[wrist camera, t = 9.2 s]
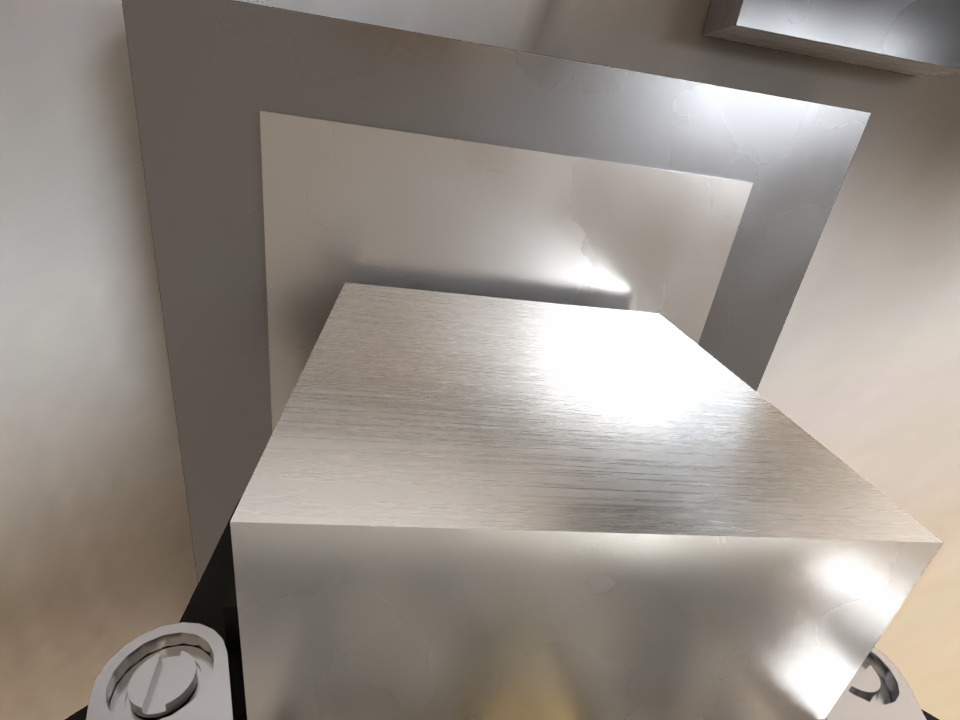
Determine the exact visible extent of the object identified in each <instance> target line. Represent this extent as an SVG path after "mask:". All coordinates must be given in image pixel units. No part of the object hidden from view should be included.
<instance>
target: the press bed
mask: <svg viewBox="0 0 960 720" xmlns="http://www.w3.org/2000/svg"><path fill="white" fill-rule="evenodd" d="M122 5H123V13H124V20H125V28H126V36H127V43H128V51H129V59H130V66H131V74H132V82H133V89H134V97H135V105H136V112H137V120H138V128H139V135H140V143H141V151H142V158H143V166H144V174H145V181H146V189H147V197H148V204H149V212H150V220H151V227H152V235H153V243H154V250H155V258H156V266H157V273H158V281H159V289H160V296H161V304H162V312H163V319H164V327H165V334H166V342H167V350H168V357H169V365H170V373H171V380H172V388H173V396H174V403H175V411H176V419H177V426H178V434H179V442H180V449H181V457H182V465H183V472H184V480H185V488H186V495H187V503H188V511H189V518H190V526H191V534H192V541H193V549H194V557H195V564H196V572H197V580H198V583H199V581H200V579H201V577H202V575H203V573H204V571H205V569H206V567H207V565H208V563H209V561H210V559H211V556H212V554H213V552H214V550H215V548H216V546H217V544H218V542H219V540H220V538H221V536H222V534H223V532H224V530H225V528H226V525H227V523H228V521H229V519H230V517H231V515H232V513H233V511H234V509H235V507H236V505H237V503H238V501H239V500H240V498H241V497H242V496H243V494H244V492H245V490H246V488H247V485H248V483H249V481H250V479H251V477H252V475H253V473H254V471H255V469H256V467H257V465H258V463H259V461H260V458H261V456H262V454H263V452H264V450H265V448H266V446H267V444H268V442H269V440H270V438H271V436H272V434H273V431H274V429H275V427H276V425H277V423H278V421H279V419H280V417H281V415H282V413H283V411H284V409H285V406H286V404H287V402H288V400H289V398H290V396H291V394H292V392H293V390H294V388H295V386H296V384H297V382H298V379H299V377H300V375H301V373H302V371H303V369H304V367H305V365H306V363H307V361H308V359H309V357H310V355H311V352H312V350H313V348H314V346H315V344H316V342H317V340H318V338H319V336H320V334H321V332H322V330H323V327H324V325H325V323H326V321H327V319H328V317H329V315H330V313H331V311H332V309H333V307H334V305H335V303H336V300H337V298H338V296H339V294H340V292H341V290H342V288H343V286H344V284H345V282H346V283H356V284H366V285H376V286H386V287H396V288H406V289H416V290H426V291H436V292H446V293H456V294H466V295H476V296H486V297H496V298H506V299H516V300H527V301H537V302H547V303H557V304H567V305H577V306H587V307H597V308H607V309H617V310H627V311H637V312H647V313H657V314H660V315H661V316H663V317H664V318H665V319H666V320H668V321H669V322H670V323H671V324H673V325H674V326H675V327H676V328H678V329H679V330H680V331H681V332H683V333H684V334H685V335H686V336H688V337H689V338H690V339H691V340H692V341H694V342H695V343H696V344H697V345H699V346H700V347H701V348H702V349H704V350H705V351H706V352H707V353H709V354H710V355H711V356H712V357H714V358H715V359H716V360H717V361H719V362H720V363H721V364H722V365H724V366H725V367H726V368H727V369H729V370H730V371H731V372H732V373H733V374H735V375H736V376H737V377H738V378H740V379H741V380H742V381H743V382H745V383H746V384H747V385H748V386H750V387H751V388H752V389H753V390H755V391H757V388H758V386H759V384H760V381H761V379H762V376H763V374H764V371H765V369H766V367H767V364H768V362H769V359H770V357H771V354H772V352H773V350H774V347H775V345H776V342H777V340H778V337H779V335H780V333H781V330H782V328H783V325H784V323H785V320H786V318H787V316H788V313H789V311H790V308H791V306H792V304H793V301H794V299H795V296H796V294H797V291H798V289H799V287H800V284H801V282H802V279H803V277H804V274H805V272H806V270H807V267H808V265H809V262H810V260H811V257H812V255H813V253H814V250H815V248H816V245H817V243H818V240H819V238H820V236H821V233H822V231H823V228H824V226H825V223H826V221H827V219H828V216H829V214H830V211H831V209H832V207H833V204H834V202H835V199H836V197H837V194H838V192H839V190H840V187H841V185H842V182H843V180H844V177H845V175H846V173H847V170H848V168H849V165H850V163H851V160H852V158H853V156H854V153H855V151H856V148H857V146H858V143H859V141H860V139H861V136H862V134H863V131H864V129H865V126H866V124H867V122H868V119H869V117H870V114H871V113H869V112H863V111H857V110H852V109H846V108H840V107H835V106H829V105H823V104H818V103H812V102H806V101H801V100H795V99H789V98H784V97H778V96H772V95H767V94H761V93H755V92H750V91H744V90H738V89H733V88H727V87H721V86H716V85H710V84H704V83H699V82H693V81H687V80H682V79H676V78H670V77H665V76H659V75H653V74H648V73H642V72H636V71H631V70H625V69H619V68H614V67H608V66H602V65H597V64H591V63H585V62H580V61H574V60H568V59H563V58H557V57H551V56H546V55H540V54H534V53H529V52H523V51H517V50H512V49H506V48H500V47H495V46H489V45H483V44H478V43H472V42H466V41H461V40H455V39H449V38H444V37H438V36H432V35H427V34H421V33H415V32H410V31H404V30H398V29H393V28H387V27H381V26H376V25H370V24H364V23H359V22H353V21H347V20H342V19H336V18H330V17H325V16H319V15H314V14H308V13H302V12H297V11H291V10H285V9H280V8H274V7H268V6H263V5H257V4H251V3H246V2H240V1H234V0H122ZM703 35H704V36H709V37H714V38H720V39H725V40H730V41H735V42H740V43H746V44H751V45H756V46H761V47H766V48H772V49H777V50H782V51H787V52H792V53H798V54H803V55H808V56H813V57H818V58H824V59H829V60H834V61H839V62H844V63H850V64H855V65H860V66H865V67H870V68H876V69H881V70H886V71H891V72H896V73H902V74H907V75H912V76H917V77H918V76H930V75H941V74H953V73H960V0H712V2H711V6H710V9H709V13H708V17H707V20H706V24H705V28H704V31H703Z"/></svg>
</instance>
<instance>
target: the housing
mask: <svg viewBox="0 0 960 720" xmlns="http://www.w3.org/2000/svg"><path fill="white" fill-rule="evenodd" d="M230 527H231V539H232V550H233V562H234V573H235V585H236V596H237V608H238V619H239V631H240V642H241V654H242V665H243V677H244V688H245V700H246V711H247V720H825V718H826V717H827V715H828V714H829V712H830V711H831V709H832V708H833V706H834V705H835V703H836V702H837V700H838V699H839V697H840V696H841V694H842V693H843V691H844V690H845V688H846V687H847V685H848V684H849V682H850V681H851V679H852V678H853V676H854V675H855V674H856V672H857V671H858V669H859V668H860V666H861V665H862V663H863V662H864V660H865V659H866V657H867V656H868V654H869V653H870V651H871V650H872V648H873V647H874V645H875V644H876V642H877V641H878V639H879V638H880V636H881V635H882V633H883V632H884V630H885V629H886V627H887V626H888V625H889V623H890V622H891V620H892V619H893V617H894V616H895V614H896V613H897V611H898V610H899V608H900V607H901V605H902V604H903V602H904V601H905V599H906V598H907V596H908V595H909V593H910V592H911V590H912V589H913V587H914V586H915V584H916V583H917V581H918V580H919V578H920V577H921V576H922V574H923V573H924V571H925V570H926V568H927V567H928V565H929V564H930V562H931V561H932V559H933V558H934V556H935V555H936V553H937V552H938V550H939V549H940V547H941V546H942V544H943V542H942V541H941V540H940V539H938V538H937V537H936V536H935V535H934V534H932V533H931V532H930V531H929V530H927V529H926V528H925V527H924V526H922V525H921V524H920V523H919V522H917V521H916V520H915V519H914V518H912V517H911V516H910V515H909V514H907V513H906V512H905V511H904V510H902V509H901V508H900V507H899V506H897V505H896V504H895V503H894V502H893V501H891V500H890V499H889V498H888V497H886V496H885V495H884V494H883V493H881V492H880V491H879V490H878V489H876V488H875V487H874V486H873V485H871V484H870V483H869V482H868V481H866V480H865V479H864V478H863V477H861V476H860V475H859V474H858V473H856V472H855V471H854V470H853V469H852V468H850V467H849V466H848V465H847V464H845V463H844V462H843V461H842V460H840V459H839V458H838V457H837V456H835V455H834V454H833V453H832V452H830V451H829V450H828V449H827V448H825V447H824V446H823V445H822V444H820V443H819V442H818V441H817V440H815V439H814V438H813V437H812V436H811V435H809V434H808V433H807V432H806V431H804V430H803V429H802V428H801V427H799V426H798V425H797V424H796V423H794V422H793V421H792V420H791V419H789V418H788V417H787V416H786V415H784V414H783V413H782V412H781V411H779V410H778V409H777V408H776V407H774V406H773V405H772V404H771V403H770V402H768V401H767V400H766V399H765V398H763V397H762V396H761V395H760V394H758V393H757V392H756V391H755V390H753V389H752V388H751V387H750V386H748V385H747V384H746V383H745V382H743V381H742V380H741V379H740V378H738V377H737V376H736V375H735V374H733V373H732V372H731V371H730V370H729V369H727V368H726V367H725V366H724V365H722V364H721V363H720V362H719V361H717V360H716V359H715V358H714V357H712V356H711V355H710V354H709V353H707V352H706V351H705V350H704V349H702V348H701V347H700V346H699V345H697V344H696V343H695V342H694V341H692V340H691V339H690V338H689V337H688V336H686V335H685V334H684V333H683V332H681V331H680V330H679V329H678V328H676V327H675V326H674V325H673V324H671V323H670V322H669V321H668V320H666V319H665V318H664V317H663V316H661V315H660V314H657V313H647V312H637V311H627V310H617V309H607V308H597V307H587V306H577V305H567V304H557V303H547V302H537V301H527V300H516V299H506V298H496V297H486V296H476V295H466V294H456V293H446V292H436V291H426V290H416V289H406V288H396V287H386V286H376V285H366V284H356V283H346V282H345V284H344V286H343V288H342V290H341V292H340V294H339V296H338V298H337V300H336V303H335V305H334V307H333V309H332V311H331V313H330V315H329V317H328V319H327V321H326V323H325V325H324V327H323V330H322V332H321V334H320V336H319V338H318V340H317V342H316V344H315V346H314V348H313V350H312V352H311V355H310V357H309V359H308V361H307V363H306V365H305V367H304V369H303V371H302V373H301V375H300V377H299V379H298V382H297V384H296V386H295V388H294V390H293V392H292V394H291V396H290V398H289V400H288V402H287V404H286V406H285V409H284V411H283V413H282V415H281V417H280V419H279V421H278V423H277V425H276V427H275V429H274V431H273V434H272V436H271V438H270V440H269V442H268V444H267V446H266V448H265V450H264V452H263V454H262V456H261V458H260V461H259V463H258V465H257V467H256V469H255V471H254V473H253V475H252V477H251V479H250V481H249V483H248V485H247V488H246V490H245V492H244V494H243V496H242V498H241V500H240V502H239V504H238V506H237V508H236V510H235V513H234V515H233V517H232V519H231V521H230Z"/></svg>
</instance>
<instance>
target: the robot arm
mask: <svg viewBox="0 0 960 720" xmlns="http://www.w3.org/2000/svg"><path fill="white" fill-rule="evenodd" d="M241 498H242V497H241ZM241 498H240V500H241ZM240 500H239V501H238V503H237V505H236V507H235V509H234V511H233V513H232V515H231V517H230V519H229V521H228V523H227V525H226V528H225V530H224V532H223V534H222V536H221V538H220V540H219V542H218V544H217V546H216V548H215V550H214V552H213V554H212V556H211V559H210V561H209V563H208V565H207V567H206V569H205V571H204V573H203V575H202V577H201V579H200V581H199V583H198V585H197V587H196V589H195V592H194V594H193V596H192V598H191V600H190V602H189V604H188V606H187V608H186V610H185V612H184V614H183V616H182V618H181V620H180V623H176V624H170V625H164V626H161V627H159V628H156V629H154V630H151V631H149V632H146V633H144V634H142V635H140V636H139V637H137V638H136V639H134V640H133V641H131V642H129V643H128V644H126V645H125V646H124V647H122V648H121V649H120V650H119V651H118V652H117V653H116V654H115V655H114V656H113V657H112V658H111V659H110V660H109V661H108V662H107V663H106V665H105V666H104V668H103V669H102V670H101V672H100V673H99V675H98V676H97V678H96V679H95V682H94V685H93V688H92V691H91V694H90V697H89V703H88V705H87V706H86V707H84V708H83V709H81V710H79V711H78V712H76V713H75V714H73V715H71V716H70V717H68V718H67V719H65V720H247V711H246V700H245V688H244V677H243V665H242V654H241V642H240V631H239V619H238V608H237V596H236V585H235V573H234V562H233V550H232V539H231V527H230V521H231V519H232V517H233V515H234V513H235V510H236V508H237V506H238V504H239V502H240ZM825 720H939V719H937V718H935V717H934V716H932V715H930V714H929V713H927V712H925V711H923V710H922V709H921V708H920V706H919V704H918V702H917V700H916V698H915V696H914V695H913V693H912V691H911V689H910V687H909V685H908V683H907V681H906V680H905V678H904V677H903V675H902V674H901V672H900V671H899V669H898V668H897V667H896V666H895V665H894V664H893V663H892V662H891V661H890V660H889V659H888V657H887V656H886V655H885V654H883V653H882V652H881V651H880V650H878V649H877V648H876V647H875V646H874V647H873V648H872V650H871V651H870V653H869V654H868V656H867V657H866V659H865V660H864V662H863V663H862V665H861V666H860V668H859V669H858V671H857V672H856V674H855V675H854V676H853V678H852V679H851V681H850V682H849V684H848V685H847V687H846V688H845V690H844V691H843V693H842V694H841V696H840V697H839V699H838V700H837V702H836V703H835V705H834V706H833V708H832V709H831V711H830V712H829V714H828V715H827V717H826V718H825Z"/></svg>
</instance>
